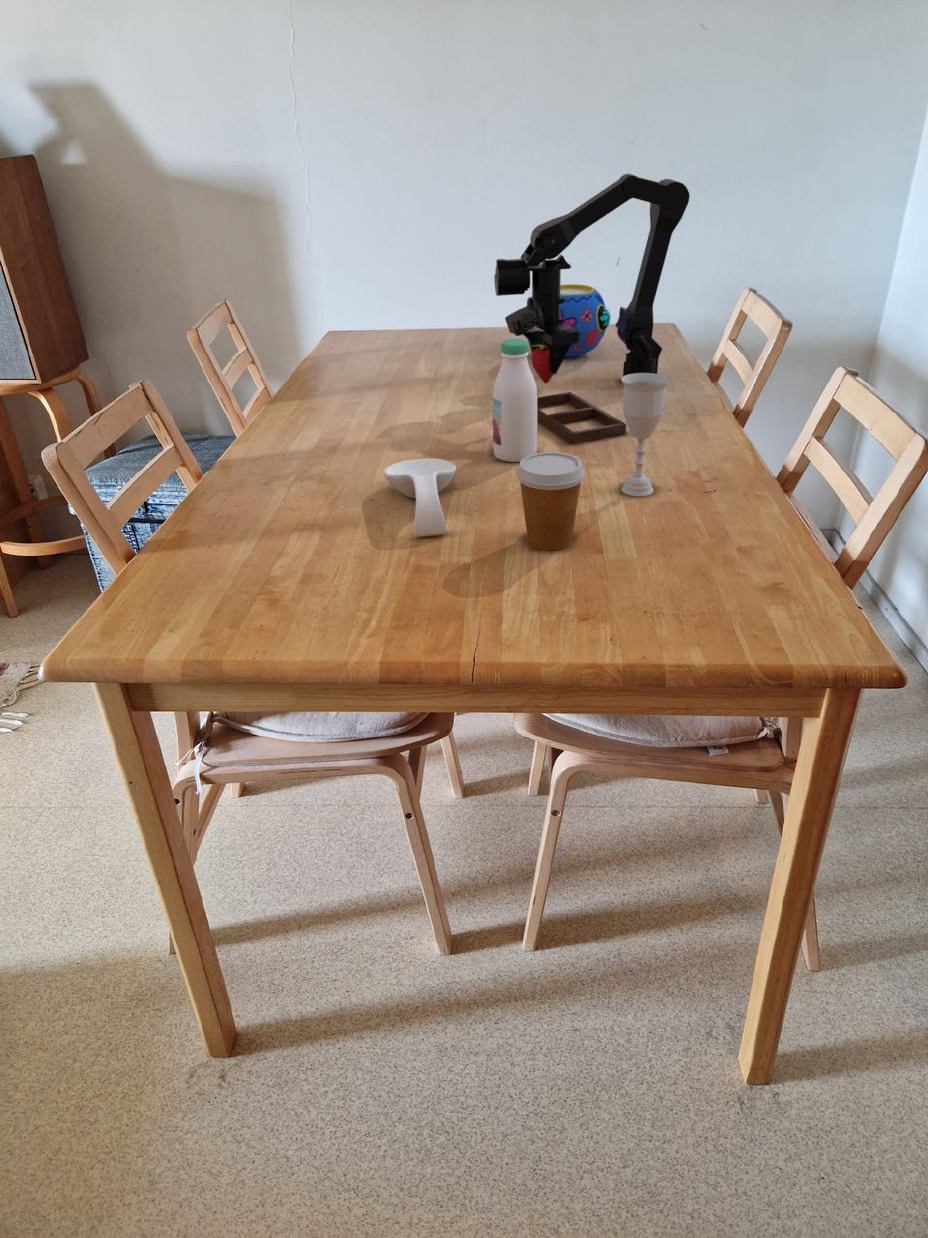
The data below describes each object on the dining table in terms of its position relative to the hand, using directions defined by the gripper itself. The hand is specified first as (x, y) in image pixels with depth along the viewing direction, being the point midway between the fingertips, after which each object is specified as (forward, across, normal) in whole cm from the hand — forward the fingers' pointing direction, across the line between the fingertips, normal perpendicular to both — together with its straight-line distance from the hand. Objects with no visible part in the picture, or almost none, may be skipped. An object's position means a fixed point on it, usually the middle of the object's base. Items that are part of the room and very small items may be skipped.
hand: (545, 369), depth 189 cm
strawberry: (+3, 0, 0) cm, 3 cm away
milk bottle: (+4, +32, -22) cm, 39 cm away
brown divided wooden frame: (+4, +21, -5) cm, 22 cm away
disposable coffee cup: (+4, +65, -32) cm, 73 cm away
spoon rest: (+4, +45, -44) cm, 63 cm away
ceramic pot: (+4, -21, +17) cm, 27 cm away
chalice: (+4, +55, -11) cm, 56 cm away
